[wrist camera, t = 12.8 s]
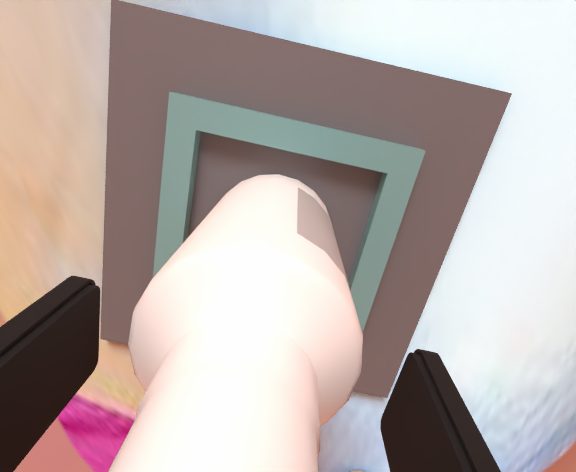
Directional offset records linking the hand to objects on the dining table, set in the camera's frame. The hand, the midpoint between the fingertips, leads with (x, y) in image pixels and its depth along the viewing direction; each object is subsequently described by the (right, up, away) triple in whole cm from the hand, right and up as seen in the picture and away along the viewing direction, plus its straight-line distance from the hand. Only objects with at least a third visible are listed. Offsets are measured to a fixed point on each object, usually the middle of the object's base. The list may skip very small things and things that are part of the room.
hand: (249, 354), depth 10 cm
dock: (0, +4, +11) cm, 12 cm away
